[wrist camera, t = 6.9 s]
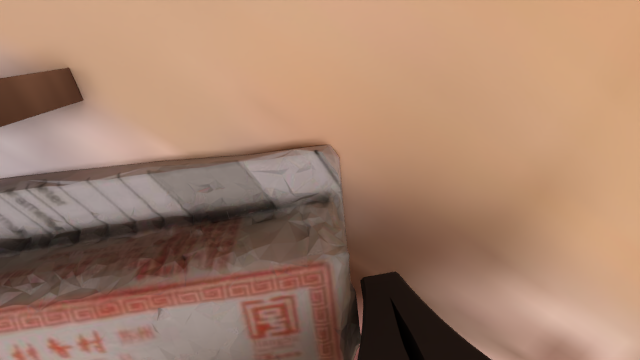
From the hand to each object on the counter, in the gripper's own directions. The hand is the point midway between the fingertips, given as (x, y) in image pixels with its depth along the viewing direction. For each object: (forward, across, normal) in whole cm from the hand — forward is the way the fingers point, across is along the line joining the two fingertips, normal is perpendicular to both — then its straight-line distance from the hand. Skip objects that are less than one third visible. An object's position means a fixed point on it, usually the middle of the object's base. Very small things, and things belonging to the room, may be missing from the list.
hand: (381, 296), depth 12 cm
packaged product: (+3, +10, -1) cm, 10 cm away
